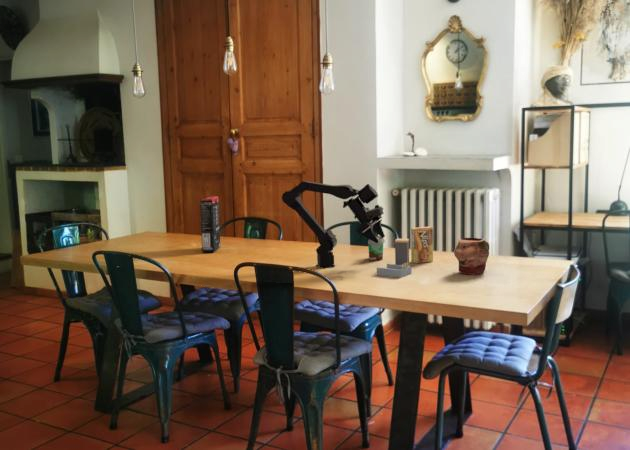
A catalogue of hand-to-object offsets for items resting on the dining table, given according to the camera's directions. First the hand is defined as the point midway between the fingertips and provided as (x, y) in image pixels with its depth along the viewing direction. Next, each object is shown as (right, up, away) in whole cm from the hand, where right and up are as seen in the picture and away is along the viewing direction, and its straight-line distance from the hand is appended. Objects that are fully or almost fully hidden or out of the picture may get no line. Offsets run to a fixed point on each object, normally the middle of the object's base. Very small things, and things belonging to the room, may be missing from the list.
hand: (380, 239), depth 282 cm
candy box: (+20, -10, +11) cm, 25 cm away
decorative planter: (+37, -13, -12) cm, 41 cm away
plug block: (+9, -12, -1) cm, 15 cm away
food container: (+1, -10, +20) cm, 22 cm away
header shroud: (+4, -14, -11) cm, 18 cm away
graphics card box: (-81, -7, +59) cm, 101 cm away
